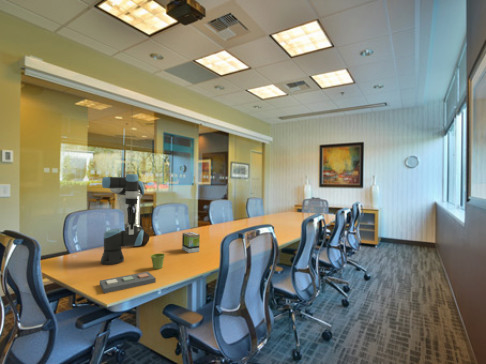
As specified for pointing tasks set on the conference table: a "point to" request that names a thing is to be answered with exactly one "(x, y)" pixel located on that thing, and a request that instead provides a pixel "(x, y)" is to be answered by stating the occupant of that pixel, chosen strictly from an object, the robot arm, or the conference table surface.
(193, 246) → the tea box
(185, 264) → the conference table surface
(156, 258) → the plant pot
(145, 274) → the terracotta button
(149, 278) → the button board
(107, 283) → the cream button
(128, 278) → the sage button
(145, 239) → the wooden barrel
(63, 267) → the conference table surface
